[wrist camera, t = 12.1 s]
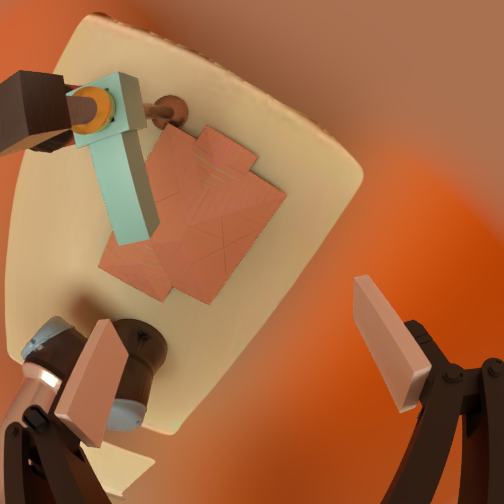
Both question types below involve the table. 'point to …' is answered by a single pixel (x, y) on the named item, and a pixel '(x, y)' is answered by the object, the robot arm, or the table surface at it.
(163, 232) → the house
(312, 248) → the table surface
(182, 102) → the post stand
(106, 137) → the teal block with hole
